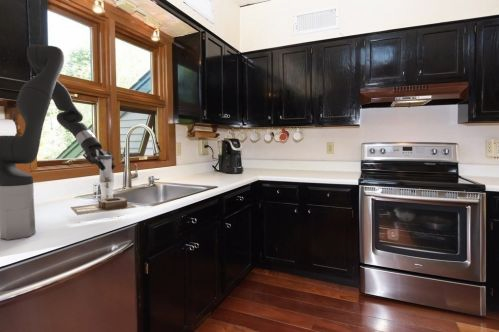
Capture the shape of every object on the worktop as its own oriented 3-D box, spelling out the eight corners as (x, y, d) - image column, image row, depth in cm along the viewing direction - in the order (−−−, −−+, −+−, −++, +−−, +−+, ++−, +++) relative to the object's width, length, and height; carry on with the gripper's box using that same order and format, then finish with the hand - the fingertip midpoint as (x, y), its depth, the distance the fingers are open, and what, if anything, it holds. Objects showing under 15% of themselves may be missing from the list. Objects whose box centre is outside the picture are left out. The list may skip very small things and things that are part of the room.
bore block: (136, 210, 132) (136, 200, 132) (77, 218, 117) (76, 207, 117) (124, 203, 146) (124, 195, 146) (70, 210, 131) (69, 200, 130)
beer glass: (100, 199, 156) (100, 172, 154) (114, 198, 158) (114, 172, 157) (99, 202, 149) (98, 173, 148) (113, 201, 152) (113, 173, 150)
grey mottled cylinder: (114, 181, 131) (113, 155, 130) (100, 182, 127) (100, 155, 126) (111, 180, 135) (110, 155, 134) (97, 181, 131) (97, 155, 130)
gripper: (78, 135, 125) (99, 164, 122) (105, 136, 139) (125, 162, 135) (70, 147, 128) (91, 175, 124) (97, 147, 141) (116, 172, 138)
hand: (108, 168), depth 130 cm, fingers closed on grey mottled cylinder, 5 cm apart
